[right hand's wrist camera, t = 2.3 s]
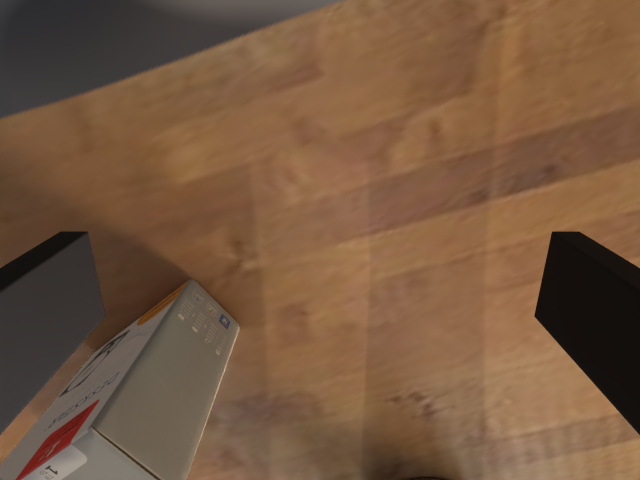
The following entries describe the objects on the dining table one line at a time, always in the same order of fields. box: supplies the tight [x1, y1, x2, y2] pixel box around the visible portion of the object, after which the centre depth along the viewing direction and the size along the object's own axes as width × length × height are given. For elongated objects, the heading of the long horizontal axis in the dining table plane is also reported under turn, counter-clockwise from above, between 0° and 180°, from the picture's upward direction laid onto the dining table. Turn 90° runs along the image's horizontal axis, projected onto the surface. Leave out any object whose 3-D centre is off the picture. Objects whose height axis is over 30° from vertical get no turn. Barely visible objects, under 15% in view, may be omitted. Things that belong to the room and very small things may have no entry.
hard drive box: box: [0, 279, 240, 480], centre depth 37 cm, size 16×8×20 cm, turn 128°
